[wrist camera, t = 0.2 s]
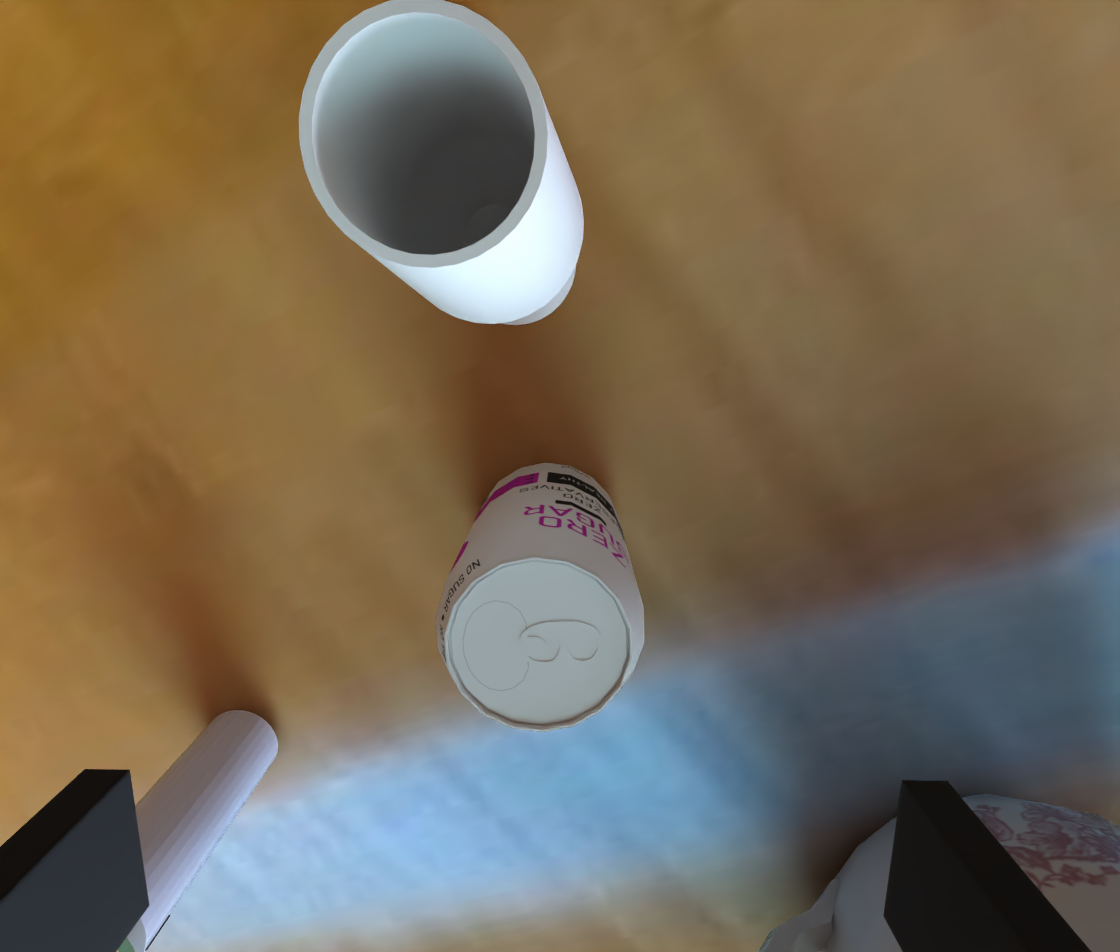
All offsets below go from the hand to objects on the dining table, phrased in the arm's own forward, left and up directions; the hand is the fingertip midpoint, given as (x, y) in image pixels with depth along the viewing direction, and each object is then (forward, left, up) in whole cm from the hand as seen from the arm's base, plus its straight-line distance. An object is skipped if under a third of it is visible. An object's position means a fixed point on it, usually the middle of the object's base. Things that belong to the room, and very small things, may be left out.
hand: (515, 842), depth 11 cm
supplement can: (+3, 0, -28) cm, 28 cm away
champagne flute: (-12, -2, -28) cm, 31 cm away
